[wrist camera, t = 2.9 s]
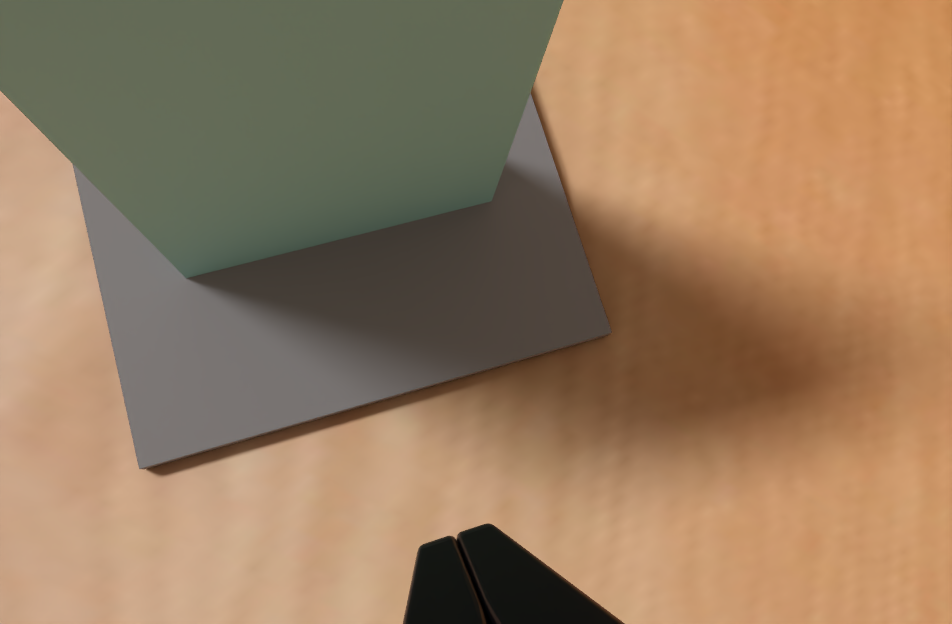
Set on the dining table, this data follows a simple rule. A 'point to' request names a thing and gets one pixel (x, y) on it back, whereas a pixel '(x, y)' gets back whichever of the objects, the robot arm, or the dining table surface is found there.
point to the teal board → (276, 111)
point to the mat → (341, 312)
